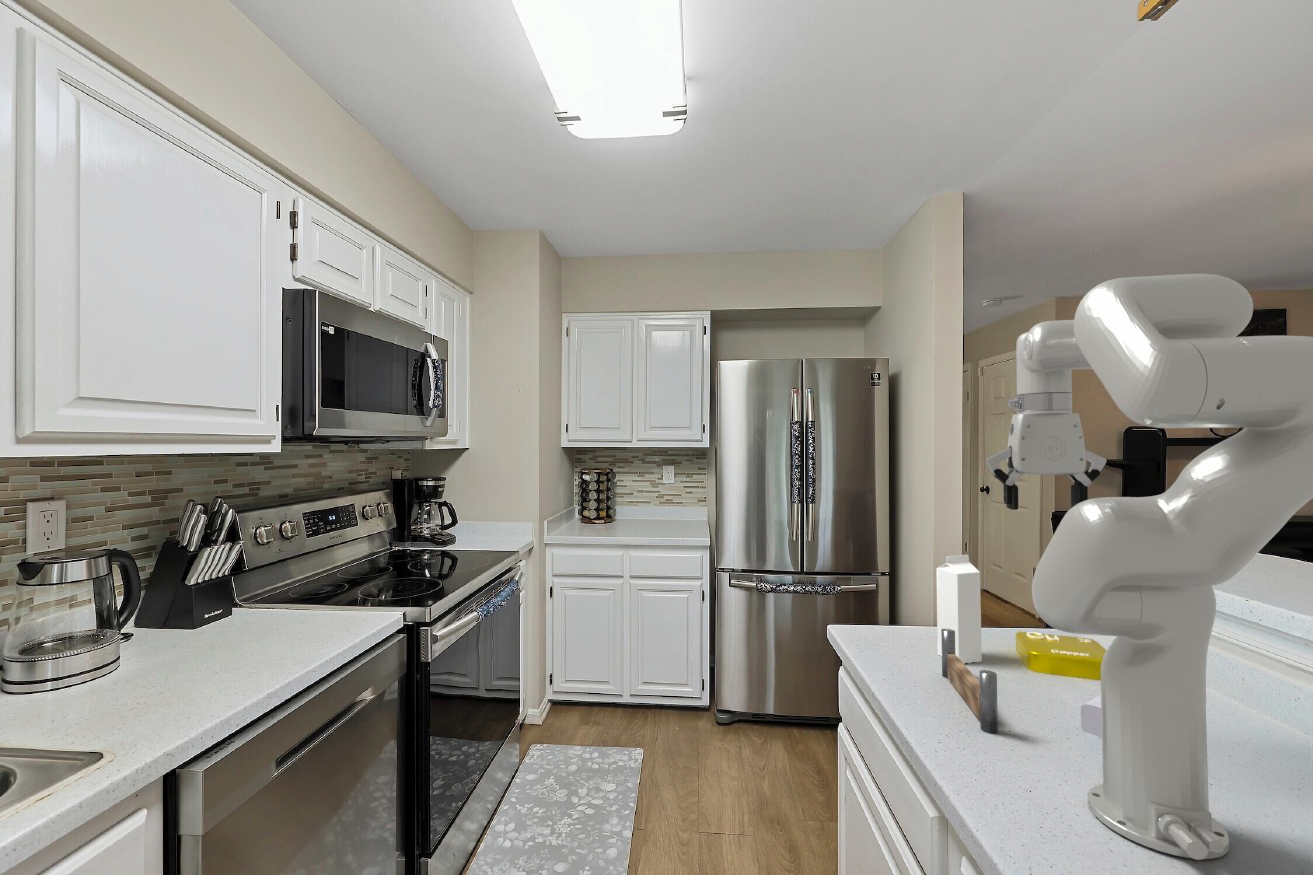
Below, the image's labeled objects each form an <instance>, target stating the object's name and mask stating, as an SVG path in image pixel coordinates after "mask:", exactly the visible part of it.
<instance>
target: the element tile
mask: <svg viewBox="0 0 1313 875" xmlns="http://www.w3.org/2000/svg"><path fill="white" fill-rule="evenodd" d="M1015 651H1016V654H1017V655H1018V654H1019V655H1018V656H1019V658H1020V659H1022V660H1021V661H1022V663H1023V662H1024V663H1023V664H1024V667H1026V669H1027V670H1029V671H1030V670H1031V671H1030V672H1034V673H1038V674H1043V673H1044V674H1043V675H1051V676H1052V675H1053V676H1060V677H1061V676H1062V677H1069V678H1076V679H1084V680H1092V681H1093V680H1094V681H1099V682H1101V664H1102V660H1103V657H1104V655H1105V653H1106V651H1107V649H1106V648H1104V647H1103V646H1102V645H1101V644H1100V643H1099V642H1098V641H1096V640H1095V639H1092V638H1088V637H1078V636H1070V635H1069V636H1067V635H1057V634H1047V633H1040V632H1035V631H1017V632H1016V633H1015Z"/></svg>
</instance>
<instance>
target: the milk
mask: <svg viewBox="0 0 1313 875" xmlns="http://www.w3.org/2000/svg"><path fill="white" fill-rule="evenodd" d="M945 562H946V563H944V564H942V565H940V566H937V567H936V573H935V574H936V578H935V579H936V625H937V626H936V628H937V631H936V632H937V637H936V639H937V640H936V641H937V655H938V656H939V655H940V656H939V657H941V656H942V637H941V629H952V630H954V631H955V655H956V656H957V657H958V658H959V659H960V660H961V661H962V662H963V664H964V665H965V663H968V664H973V663H972V662H975V663H981V662H982V660H983V659H982V658H983V656H982V614H981V613H982V611H981V610H982V609H981V608H982V607H981V605H982V604H981V600H982V599H981V571H980V570H978V568H976V566H975V565H973V564H972V563H971V562H970V556H969V554H958V555H947V556H946V557H945Z"/></svg>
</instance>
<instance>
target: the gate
mask: <svg viewBox="0 0 1313 875" xmlns="http://www.w3.org/2000/svg"><path fill="white" fill-rule="evenodd" d="M947 665H948V678H947V679H948V680H949V681H950V683H951V684H952V685H953V687H954V688H955V689H956V691H957V693H959V695H960V696H961V697H962V699H963V700H964V702H966V704H967V706H968V707H969V708H970V710H971V711H972V712H973V714H974V715H975V716H976V717H977V719H978V720H979V721H980V680H978V678H977V677H976V676H975V675H974V674H973V673H972V672H971V671H970V669H969V668H968V667H967V666H966V665H965V664H963V662H962V661H961V660H960V659H959V658H958V657H957V656H956V655H953V654H947Z"/></svg>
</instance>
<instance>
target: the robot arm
mask: <svg viewBox="0 0 1313 875" xmlns="http://www.w3.org/2000/svg"><path fill="white" fill-rule="evenodd" d="M1253 301H1254V300H1253V298H1252V296H1251V295H1250V293H1249V291H1248V289H1246V287H1244V286H1243V285H1242V284H1240V283H1239V282H1237V281H1236V280H1234V279H1231V278H1229V277H1226V276H1222V275H1218V274H1210V273H1183V274H1182V273H1180V274H1162V275H1161V274H1160V275H1149V276H1148V275H1146V276H1128V277H1117V278H1114V279H1109V280H1106V281H1103V282H1101V283H1099V284H1097V285H1096V286H1094V287H1093V288H1091V289H1090V290H1089V291H1088V292H1087V293H1086V294H1084V296H1083V297H1082V299H1081V300H1080V301H1079V304H1078V305H1077V307H1076V311H1075V314H1074V317H1073V318H1074V319H1066V320H1065V319H1064V320H1063V319H1062V320H1047V321H1041V322H1039V323H1036V324H1035V325H1034V326H1032V327H1031V328H1030V330H1029V331H1026V332H1024V333H1022V334H1020V335H1019V336H1018V337H1017V339H1016V348H1015V350H1016V354H1015V355H1016V395H1015V397H1014V398H1013V399H1008V400H1007V407H1008V408H1013V409H1015V412H1016V414H1012V417H1011V421H1010V426H1009V433H1008V440H1007V448H1006V449H1004V450H1001V451H999V452H997V453H995V454H993V455H991V456H988V457H986V458H985V460H984V461H985V463H986V465H987V467H988V469H989V471H990V472H991V475H992V476H994V477H995V478H996V479H997V480H998V481H999V482H1000V483H1001V484H1002V485H1003V504H1005V505H1006V508H1007V509H1009V510H1011V511H1017V510H1018V509H1019V487H1018V485H1016V482H1017V481H1018V480H1019V479H1020V478H1021V477H1022V476H1023V475H1042V476H1043V475H1044V476H1045V475H1047V476H1048V475H1049V476H1052V475H1053V476H1054V475H1057V476H1058V475H1059V476H1060V475H1061V476H1062V475H1063V476H1066V475H1067V477H1068V478H1070V479H1071V481H1072V482H1073V483H1074V484H1071V486H1070V508H1069V510H1068V511H1067V512H1066V513H1065V514H1064V516H1063V517H1062V519H1061V521H1060V523H1059V524H1058V526H1057V527H1056V529H1055V531H1054V533H1053V535H1052V537H1051V539H1050V541H1049V543H1048V544H1047V547H1046V549H1045V550H1044V552H1043V554H1042V556H1041V558H1040V560H1039V561H1038V563H1037V565H1036V568H1035V571H1034V573H1033V578H1032V582H1031V583H1032V584H1031V596H1032V597H1031V598H1032V602H1033V603H1032V604H1033V606H1034V609H1035V611H1036V612H1037V614H1038V616H1039V617H1040V618H1041V620H1042V621H1043V622H1044V623H1046V624H1047V625H1048V626H1049V627H1052V628H1053V629H1055V630H1057V631H1059V632H1063V633H1067V634H1075V635H1091V636H1092V635H1093V636H1106V637H1107V636H1109V637H1110V636H1111V637H1115V638H1114V639H1113V640H1112V642H1111V643H1110V645H1108V647H1107V649H1106V653H1105V655H1104V657H1103V660H1102V664H1101V681H1100V695H1101V718H1102V737H1101V750H1102V751H1101V752H1102V753H1101V755H1102V783H1101V784H1097V785H1094V786H1093V787H1091V788H1090V789H1089V790H1088V792H1087V803H1088V807H1089V809H1090V811H1091V812H1092V814H1093V815H1094V816H1095V817H1097V819H1098V820H1099V821H1101V823H1103V824H1104V825H1106V826H1107V827H1108V828H1109V829H1111V830H1113V831H1114V832H1116V833H1118V834H1119V835H1120V836H1123V837H1125V838H1126V839H1129V840H1130V841H1132V842H1135V843H1137V844H1140V845H1141V846H1144V847H1146V848H1150V849H1152V850H1155V851H1158V852H1161V853H1163V854H1164V853H1165V854H1168V855H1171V856H1176V857H1180V858H1186V859H1193V860H1197V861H1200V860H1213V859H1218V858H1220V857H1221V858H1222V857H1223V856H1225V855H1227V853H1228V852H1229V851H1230V838H1229V833H1228V832H1227V831H1226V829H1225V827H1224V826H1222V825H1221V824H1220V822H1218V821H1217V820H1216V819H1214V817H1212V812H1211V811H1210V807H1209V801H1210V800H1209V771H1208V770H1209V768H1208V738H1207V737H1208V734H1207V733H1208V732H1207V679H1206V678H1207V660H1208V659H1207V658H1208V651H1209V650H1208V649H1209V644H1210V639H1211V636H1212V635H1211V634H1212V632H1213V628H1214V623H1215V619H1216V613H1217V600H1216V593H1215V591H1214V589H1213V587H1214V586H1216V585H1221V584H1223V583H1225V582H1227V581H1229V580H1230V579H1232V578H1233V577H1234V576H1236V575H1237V574H1238V573H1239V572H1240V571H1241V570H1242V569H1243V568H1244V567H1245V566H1247V565H1248V564H1249V563H1250V561H1251V560H1253V559H1254V558H1255V556H1256V555H1257V554H1258V553H1259V552H1260V551H1261V550H1262V549H1263V548H1264V547H1265V546H1266V545H1267V544H1268V543H1269V541H1271V540H1272V538H1274V537H1275V536H1276V534H1278V533H1279V532H1280V530H1281V529H1282V528H1283V527H1284V526H1285V525H1286V524H1287V523H1288V521H1289V520H1290V519H1291V518H1292V517H1293V516H1294V515H1295V514H1296V513H1297V512H1298V511H1299V510H1301V508H1302V507H1304V506H1305V505H1306V504H1307V503H1309V502H1310V501H1312V499H1313V336H1309V335H1308V336H1307V335H1306V336H1305V335H1252V336H1250V335H1249V336H1239V335H1240V334H1241V333H1242V332H1243V331H1244V330H1245V328H1246V327H1247V326H1249V325H1248V324H1250V321H1251V320H1252V317H1253V312H1254V302H1253ZM1072 370H1093V372H1094V373H1095V375H1096V376H1097V378H1098V379H1099V381H1100V382H1101V384H1102V385H1103V387H1104V388H1105V390H1106V392H1107V393H1108V395H1109V396H1110V398H1111V399H1112V401H1113V402H1114V404H1115V405H1116V407H1117V408H1118V409H1119V411H1121V413H1122V414H1123V415H1125V416H1126V417H1127V418H1128V419H1130V420H1131V421H1132V422H1135V423H1136V424H1139V425H1140V426H1141V425H1142V426H1145V427H1151V428H1157V429H1202V428H1203V429H1215V428H1217V429H1220V428H1222V429H1224V428H1225V429H1230V428H1242V430H1240V431H1239V432H1237V433H1235V434H1233V435H1232V436H1231V437H1230V436H1229V437H1228V438H1226V439H1224V440H1222V441H1220V442H1218V443H1217V444H1214V445H1213V446H1211V447H1209V448H1207V450H1205V451H1203V452H1201V453H1200V454H1199V455H1197V456H1196V457H1195V458H1193V459H1192V460H1191V461H1190V462H1189V463H1188V464H1187V465H1185V467H1184V468H1183V469H1182V471H1181V472H1180V474H1179V475H1178V477H1177V478H1176V480H1175V481H1174V482H1173V484H1172V485H1171V486H1170V487H1169V488H1168V489H1167V490H1166V491H1164V492H1162V493H1161V494H1157V495H1152V496H1150V495H1149V496H1140V497H1139V496H1137V497H1136V496H1133V497H1132V496H1106V497H1094V498H1093V497H1092V498H1090V499H1088V493H1089V491H1088V490H1089V488H1088V487H1089V486H1091V485H1092V482H1094V481H1095V480H1096V479H1098V477H1099V476H1100V475H1101V471H1102V470H1103V468H1104V467H1105V466H1106V463H1107V458H1105V457H1103V456H1100V455H1098V454H1096V453H1094V452H1091V451H1090V450H1088V449H1086V445H1085V437H1084V431H1083V427H1082V422H1081V419H1080V415H1079V413H1075V412H1074V413H1073V385H1072V384H1073V381H1072V374H1073V373H1072V372H1073V371H1072ZM1004 460H1006V463H1007V469H1008V471H1007V472H1006V473H1005V471H1003V469H1001V467H1000V465H999V464H1000V462H1003V461H1004ZM1087 461H1088V462H1090V467H1089V468H1088V469H1087ZM1086 469H1087V470H1086Z"/></svg>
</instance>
